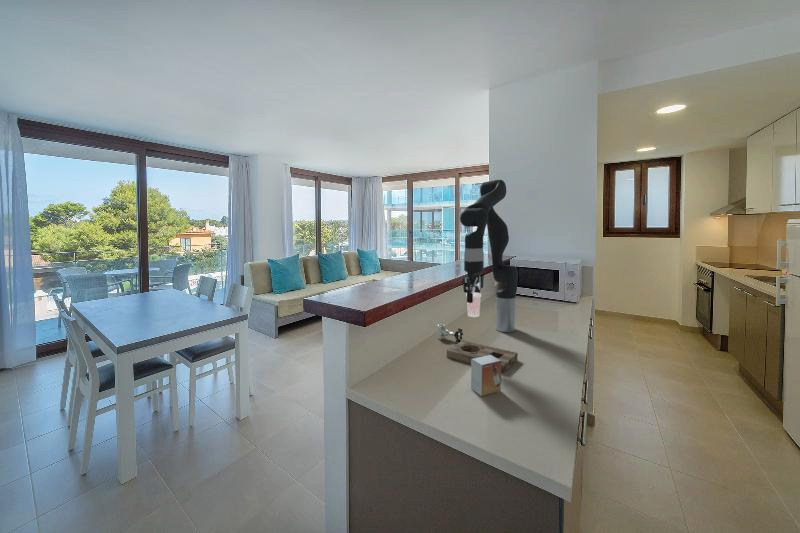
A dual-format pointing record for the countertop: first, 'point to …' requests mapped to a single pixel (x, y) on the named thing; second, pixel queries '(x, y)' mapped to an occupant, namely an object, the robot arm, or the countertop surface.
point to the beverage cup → (474, 305)
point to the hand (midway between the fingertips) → (473, 300)
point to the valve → (448, 333)
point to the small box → (486, 375)
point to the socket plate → (481, 353)
